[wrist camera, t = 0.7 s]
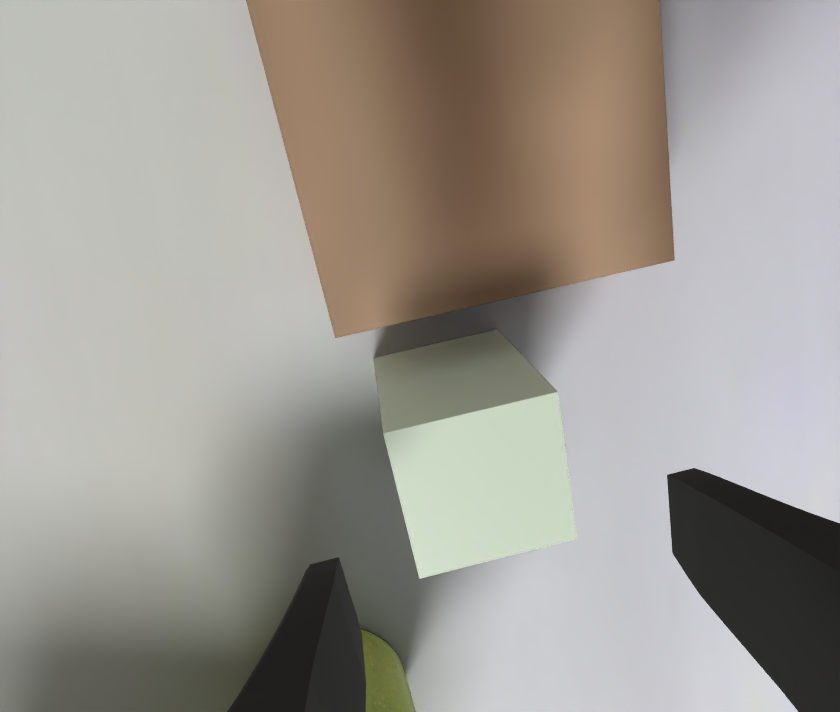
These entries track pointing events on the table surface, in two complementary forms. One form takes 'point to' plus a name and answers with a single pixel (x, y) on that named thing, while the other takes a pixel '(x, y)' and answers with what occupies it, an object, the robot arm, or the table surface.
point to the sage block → (474, 451)
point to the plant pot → (384, 677)
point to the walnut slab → (469, 146)
